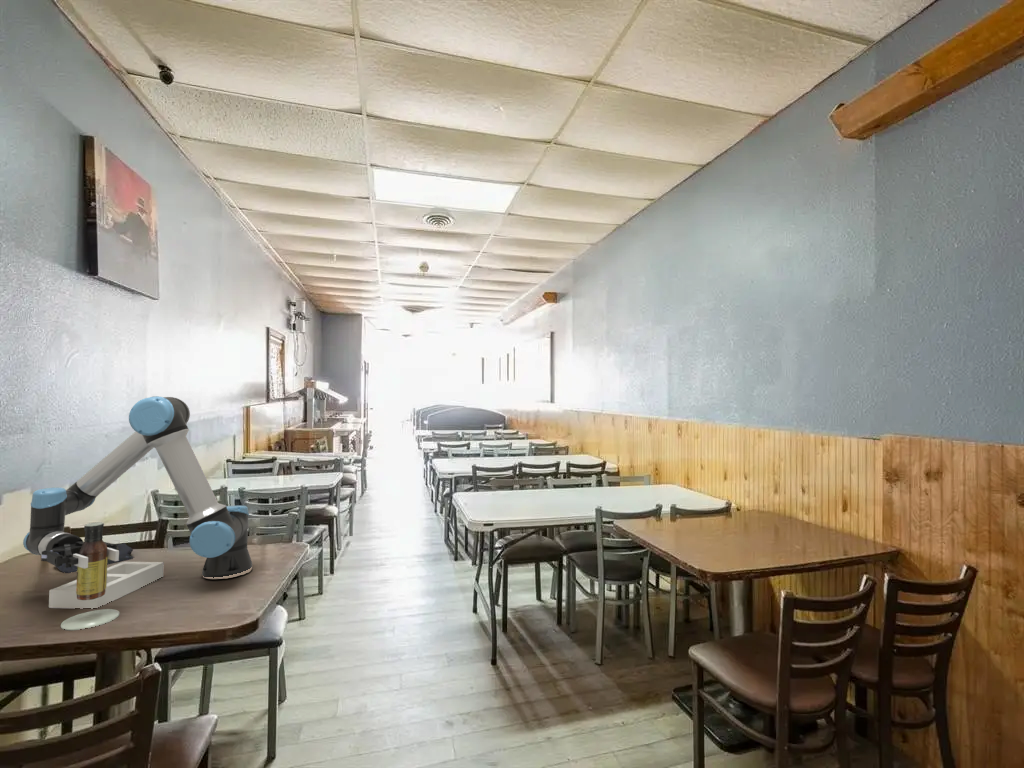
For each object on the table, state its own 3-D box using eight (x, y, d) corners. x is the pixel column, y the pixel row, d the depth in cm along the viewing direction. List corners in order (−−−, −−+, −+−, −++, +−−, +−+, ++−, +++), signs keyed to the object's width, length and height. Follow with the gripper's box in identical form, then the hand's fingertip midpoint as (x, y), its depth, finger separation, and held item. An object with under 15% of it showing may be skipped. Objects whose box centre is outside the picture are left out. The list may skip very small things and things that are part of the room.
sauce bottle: (87, 592, 136) (92, 520, 137) (111, 592, 137) (116, 520, 138) (68, 602, 130) (73, 526, 131) (93, 601, 130) (98, 526, 131)
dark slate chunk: (47, 568, 175) (48, 554, 176) (120, 552, 194) (121, 540, 195) (64, 576, 168) (65, 562, 168) (139, 558, 187) (139, 546, 187)
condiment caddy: (163, 577, 166) (163, 562, 166) (95, 608, 140) (96, 591, 140) (123, 576, 166) (123, 561, 166) (48, 607, 141) (49, 590, 141)
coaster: (130, 611, 139) (130, 609, 139) (92, 630, 127) (92, 628, 127) (89, 610, 139) (89, 608, 139) (47, 629, 127) (47, 627, 127)
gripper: (100, 551, 150) (141, 563, 140) (16, 569, 133) (55, 584, 123) (102, 526, 150) (143, 536, 140) (17, 541, 133) (57, 554, 123)
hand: (102, 559), depth 131 cm, fingers closed on sauce bottle, 6 cm apart
